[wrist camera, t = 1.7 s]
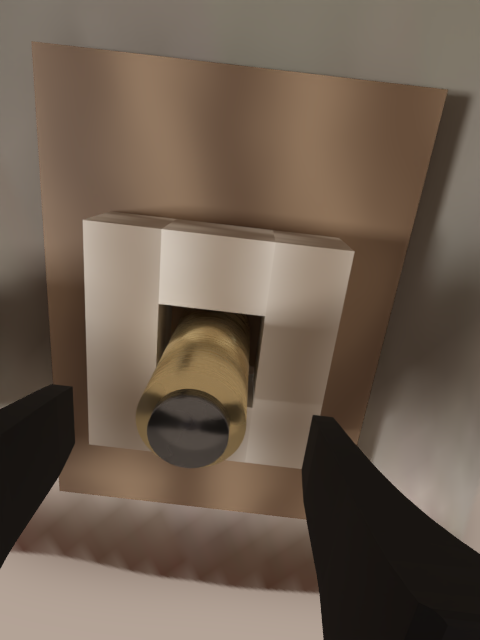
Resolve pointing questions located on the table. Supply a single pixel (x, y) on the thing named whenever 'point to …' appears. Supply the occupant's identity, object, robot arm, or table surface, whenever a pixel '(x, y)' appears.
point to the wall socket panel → (220, 250)
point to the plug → (198, 391)
